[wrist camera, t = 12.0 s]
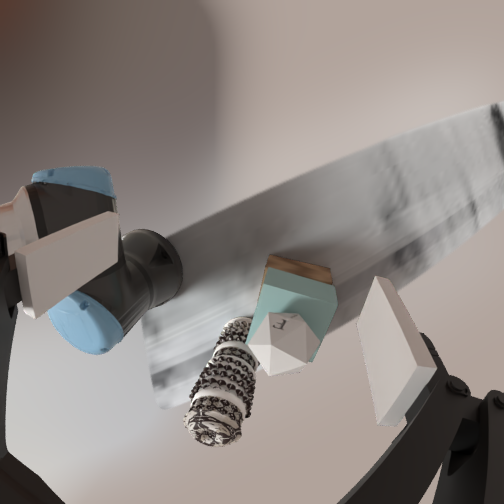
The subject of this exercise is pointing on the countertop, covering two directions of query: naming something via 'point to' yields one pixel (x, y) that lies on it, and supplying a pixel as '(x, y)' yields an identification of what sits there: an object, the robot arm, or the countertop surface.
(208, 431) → the decorative candle
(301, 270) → the tower base
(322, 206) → the countertop surface
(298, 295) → the tower top
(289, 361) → the die
